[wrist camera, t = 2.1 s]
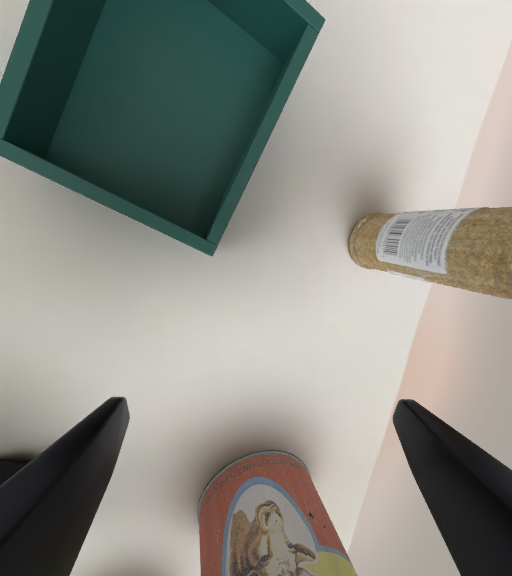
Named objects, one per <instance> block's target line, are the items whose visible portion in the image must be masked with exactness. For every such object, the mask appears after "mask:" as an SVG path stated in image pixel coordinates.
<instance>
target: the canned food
mask: <svg viewBox="0 0 512 576" xmlns="http://www.w3.org/2000/svg"><path fill="white" fill-rule="evenodd" d="M198 523H199V534H200V562H201V576H357V574H356V572H355V570H354V568H353V565H352V563H351V561H350V559H349V557H348V555H347V553H346V551H345V549H344V547H343V545H342V543H341V541H340V538H339V536H338V534H337V532H336V530H335V528H334V526H333V524H332V522H331V520H330V518H329V516H328V513H327V511H326V509H325V507H324V505H323V503H322V501H321V499H320V497H319V495H318V493H317V491H316V489H315V486H314V484H313V482H312V480H311V478H310V474H309V472H308V470H307V468H306V466H305V465H304V464H303V462H301V461H300V460H299V459H298V458H296V457H295V456H293V455H290V454H288V453H284V452H279V451H265V452H258V453H254V454H250V455H248V456H245V457H243V458H240V459H238V460H236V461H234V462H233V463H231V464H230V465H228V466H227V467H225V468H224V469H223V470H221V471H220V472H219V473H218V474H217V475H216V476H215V477H214V478H213V479H212V480H211V482H210V483H209V484H208V486H207V487H206V489H205V490H204V492H203V494H202V496H201V499H200V502H199V506H198Z"/></svg>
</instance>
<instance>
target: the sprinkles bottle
mask: <svg viewBox="0 0 512 576" xmlns="http://www.w3.org/2000/svg"><path fill="white" fill-rule="evenodd" d="M349 248H350V253H351V255H352V258H353V260H354V261H355V262H356V263H357V264H358V265H360V266H361V267H364V268H367V269H377V270H381V271H386V272H389V273H391V274H395V275H399V276H403V277H407V278H412V279H416V280H421V281H425V282H436V283H438V284H444V285H447V286H452V287H456V288H461V289H465V290H469V291H473V292H479V293H482V294H487V295H492V296H496V297H501V298H507V299H512V207H505V208H503V207H502V208H488V207H483V208H467V209H450V210H434V211H417V212H404V213H399V214H380V213H375V214H370V215H368V216H365V217H364V218H363V219H361V220H360V221H359V222H358V223H357V224H356V226H355V227H354V229H353V232H352V233H351V236H350V242H349Z"/></svg>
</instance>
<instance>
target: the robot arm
mask: <svg viewBox="0 0 512 576" xmlns="http://www.w3.org/2000/svg"><path fill="white" fill-rule="evenodd" d="M129 418H130V415H129V410H128V405H127V400H126V398H125V397H111V398H110V399H108V400H107V401H106V402H104V403H103V404H102V405H101V406H99V407H98V408H97V409H96V410H94V411H93V412H92V413H91V414H89V415H88V416H87V417H86V418H84V419H83V420H82V421H81V422H79V423H78V424H77V425H76V426H74V427H73V428H72V429H71V430H69V431H68V432H67V433H66V434H64V435H63V436H62V437H61V438H59V439H58V440H57V441H56V442H54V443H53V444H52V445H51V446H49V447H48V448H47V449H46V450H45V451H43V452H42V453H41V454H40V455H38V456H37V457H36V458H35V459H33V460H32V461H13V460H0V576H69V575H70V573H71V571H72V568H73V566H74V564H75V561H76V559H77V557H78V554H79V552H80V550H81V547H82V545H83V543H84V540H85V538H86V535H87V533H88V531H89V528H90V526H91V524H92V521H93V519H94V517H95V514H96V512H97V510H98V507H99V505H100V503H101V500H102V498H103V496H104V493H105V491H106V488H107V486H108V484H109V481H110V479H111V476H112V473H113V470H114V468H115V464H116V461H117V458H118V455H119V452H120V449H121V446H122V442H123V439H124V436H125V433H126V430H127V427H128V424H129ZM393 423H394V426H395V429H396V432H397V434H398V437H399V440H400V442H401V445H402V448H403V450H404V453H405V456H406V458H407V461H408V464H409V466H410V469H411V471H412V474H413V476H414V478H415V480H416V482H417V484H418V486H419V489H420V491H421V493H422V495H423V497H424V499H425V501H426V503H427V505H428V507H429V509H430V512H431V514H432V516H433V518H434V520H435V522H436V524H437V526H438V529H439V530H440V532H441V535H442V537H443V539H444V541H445V543H446V545H447V547H448V549H449V552H450V554H451V556H452V558H453V560H454V562H455V564H456V566H457V568H458V570H459V572H460V575H461V576H512V470H511V469H509V468H508V467H507V466H505V465H504V464H502V463H501V462H500V461H498V460H497V459H495V458H494V457H492V456H491V455H490V454H488V453H487V452H486V451H484V450H483V449H481V448H480V447H479V446H477V445H476V444H474V443H473V442H471V441H470V440H469V439H467V438H466V437H465V436H463V435H462V434H460V433H459V432H458V431H456V430H455V429H453V428H452V427H451V426H449V425H448V424H446V423H445V422H444V421H442V420H441V419H439V418H438V417H436V416H435V415H434V414H432V413H431V412H430V411H428V410H427V409H425V408H424V407H423V406H421V405H420V404H418V403H417V402H416V401H414V400H411V399H401V400H399V401H398V404H397V406H396V409H395V412H394V415H393Z"/></svg>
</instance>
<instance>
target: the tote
mask: <svg viewBox="0 0 512 576" xmlns="http://www.w3.org/2000/svg"><path fill="white" fill-rule="evenodd" d="M324 22H325V18H323V17H322V16H321V15H320V14H319V13H318V12H317V11H316V10H315V9H314V8H313V7H312V6H311V5H310V4H309V3H308V2H307V1H306V0H30V2H29V5H28V7H27V10H26V13H25V16H24V19H23V21H22V24H21V27H20V30H19V33H18V36H17V38H16V41H15V44H14V47H13V50H12V52H11V55H10V58H9V61H8V64H7V67H6V69H5V72H4V75H3V78H2V81H1V83H0V156H2V157H4V158H6V159H8V160H10V161H12V162H14V163H16V164H19V165H21V166H23V167H25V168H27V169H29V170H31V171H33V172H35V173H38V174H40V175H42V176H44V177H46V178H48V179H50V180H52V181H54V182H56V183H59V184H61V185H63V186H65V187H67V188H69V189H71V190H73V191H75V192H77V193H80V194H82V195H84V196H86V197H88V198H90V199H92V200H94V201H96V202H99V203H101V204H103V205H105V206H107V207H109V208H111V209H113V210H115V211H117V212H120V213H122V214H124V215H126V216H128V217H130V218H132V219H134V220H136V221H138V222H141V223H143V224H145V225H147V226H149V227H151V228H153V229H155V230H157V231H160V232H162V233H164V234H166V235H168V236H170V237H172V238H174V239H176V240H178V241H181V242H183V243H185V244H187V245H189V246H191V247H193V248H195V249H197V250H200V251H202V252H204V253H206V254H208V255H210V256H213V254H214V252H215V250H216V248H217V245H218V244H219V242H220V240H221V238H222V235H223V233H224V231H225V229H226V227H227V225H228V223H229V221H230V219H231V217H232V215H233V212H234V210H235V208H236V206H237V204H238V202H239V200H240V198H241V196H242V194H243V191H244V189H245V187H246V185H247V183H248V181H249V179H250V177H251V175H252V173H253V171H254V168H255V166H256V164H257V162H258V160H259V158H260V156H261V154H262V152H263V150H264V147H265V145H266V143H267V141H268V139H269V137H270V135H271V133H272V131H273V129H274V126H275V124H276V122H277V120H278V118H279V116H280V114H281V112H282V110H283V108H284V106H285V103H286V101H287V99H288V97H289V95H290V93H291V91H292V89H293V87H294V85H295V82H296V80H297V78H298V76H299V74H300V72H301V70H302V68H303V66H304V64H305V61H306V59H307V57H308V55H309V53H310V51H311V49H312V47H313V45H314V43H315V41H316V38H317V36H318V34H319V32H320V30H321V28H322V26H323V24H324Z"/></svg>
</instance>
